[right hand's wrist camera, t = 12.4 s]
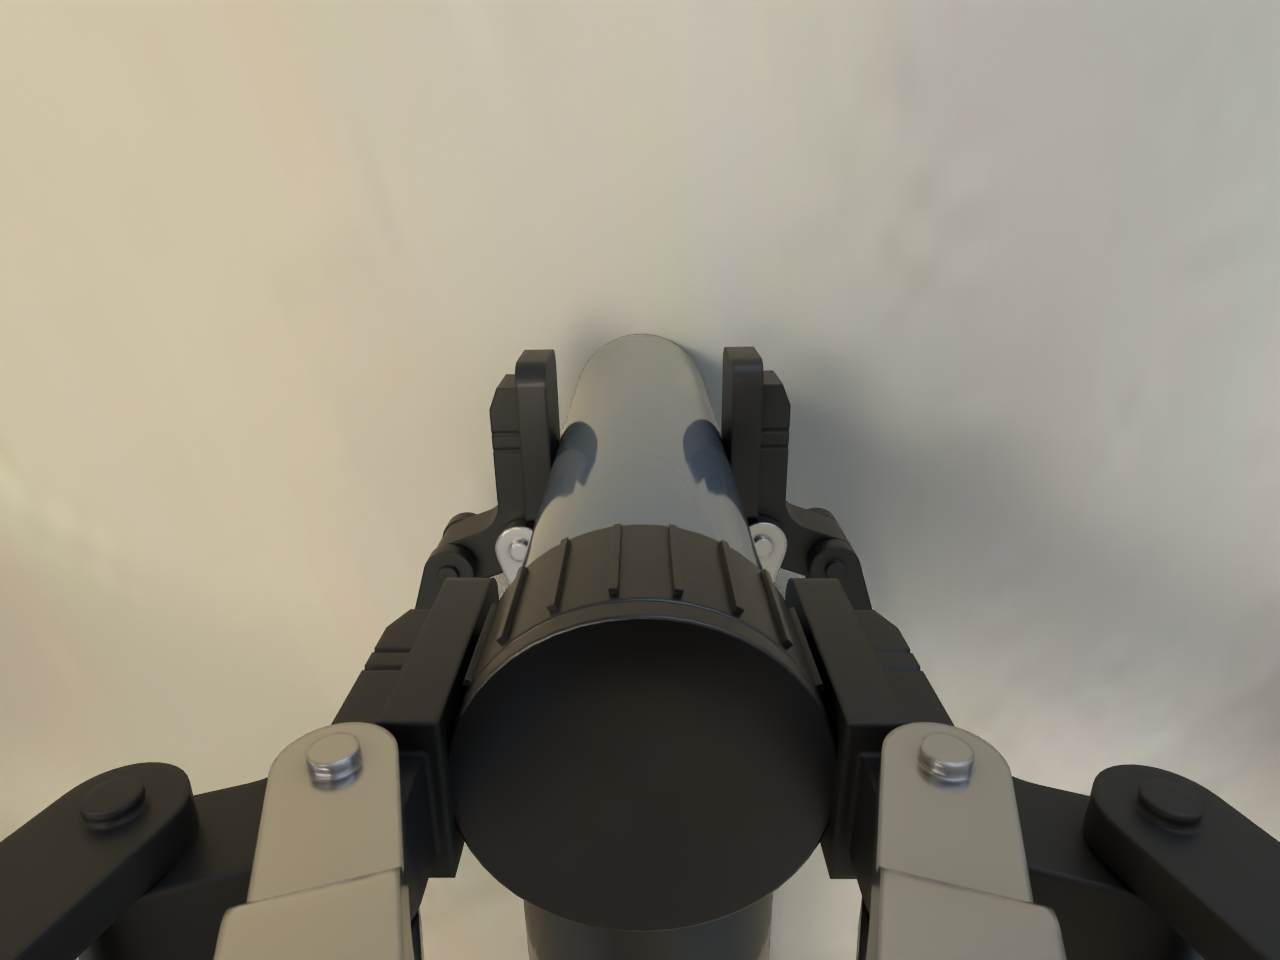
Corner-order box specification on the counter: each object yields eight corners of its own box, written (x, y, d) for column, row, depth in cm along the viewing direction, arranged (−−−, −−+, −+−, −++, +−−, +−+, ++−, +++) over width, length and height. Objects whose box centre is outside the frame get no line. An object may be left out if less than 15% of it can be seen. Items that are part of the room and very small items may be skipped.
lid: (429, 571, 11) (373, 675, 9) (759, 477, 10) (794, 561, 8) (543, 824, 12) (521, 969, 10) (834, 753, 12) (881, 890, 10)
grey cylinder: (558, 355, 25) (414, 663, 9) (684, 316, 25) (768, 568, 9) (599, 472, 26) (537, 920, 10) (719, 438, 26) (847, 849, 10)
